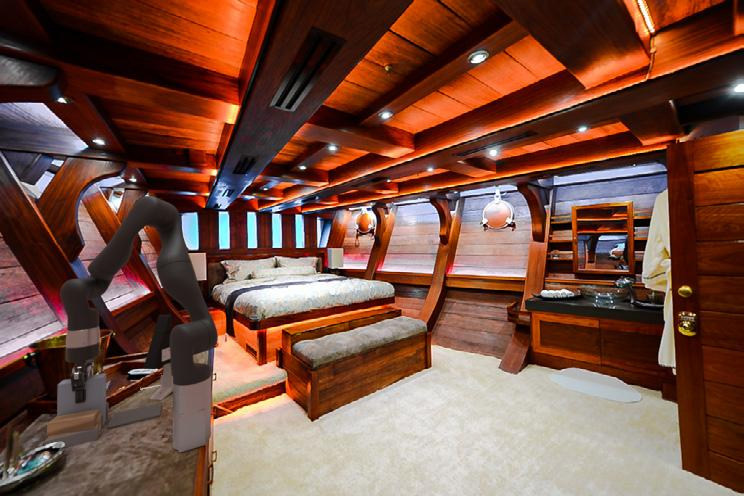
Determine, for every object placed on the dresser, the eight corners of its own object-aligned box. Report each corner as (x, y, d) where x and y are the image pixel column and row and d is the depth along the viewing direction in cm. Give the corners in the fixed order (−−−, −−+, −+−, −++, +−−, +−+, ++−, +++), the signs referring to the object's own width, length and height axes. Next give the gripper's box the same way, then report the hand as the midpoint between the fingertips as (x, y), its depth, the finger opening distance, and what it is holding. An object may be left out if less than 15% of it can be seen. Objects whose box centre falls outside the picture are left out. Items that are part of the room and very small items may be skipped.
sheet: (102, 426, 91) (103, 377, 91) (57, 437, 86) (57, 385, 86) (105, 420, 94) (106, 372, 95) (62, 430, 89) (62, 380, 89)
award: (154, 403, 105) (154, 318, 106) (142, 402, 106) (142, 318, 107) (188, 385, 120) (189, 311, 121) (178, 384, 121) (178, 310, 122)
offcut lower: (96, 438, 85) (96, 426, 85) (47, 450, 80) (48, 437, 80) (100, 431, 89) (100, 419, 89) (54, 442, 84) (54, 430, 84)
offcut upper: (93, 428, 84) (93, 415, 85) (47, 436, 81) (47, 423, 81) (100, 421, 88) (100, 409, 88) (56, 428, 84) (56, 416, 85)
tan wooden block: (97, 439, 85) (97, 421, 85) (44, 452, 79) (44, 433, 79) (108, 417, 96) (108, 402, 96) (62, 428, 90) (62, 411, 90)
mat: (159, 416, 96) (159, 415, 96) (106, 429, 89) (106, 427, 89) (161, 404, 104) (162, 402, 104) (113, 415, 98) (113, 413, 98)
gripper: (93, 346, 87) (93, 405, 86) (105, 336, 99) (104, 387, 98) (57, 351, 83) (56, 413, 82) (74, 339, 95) (73, 393, 94)
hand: (82, 399), depth 90 cm, fingers closed on sheet, 4 cm apart
